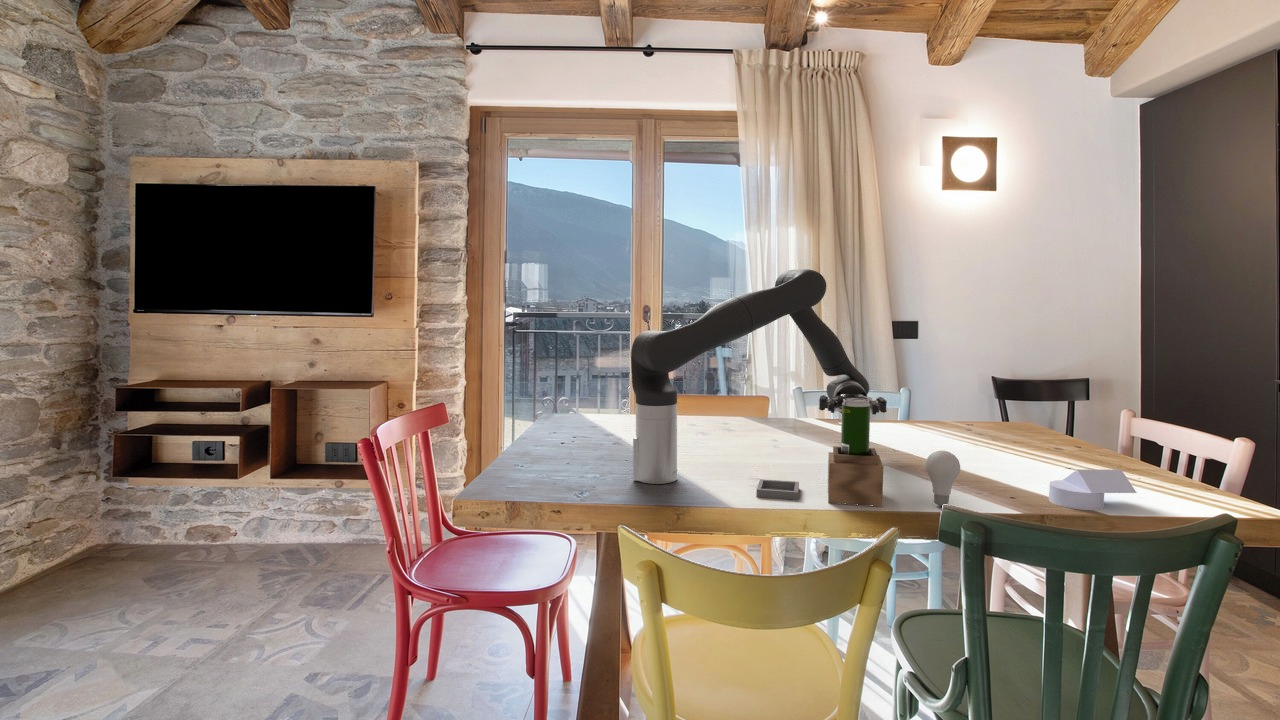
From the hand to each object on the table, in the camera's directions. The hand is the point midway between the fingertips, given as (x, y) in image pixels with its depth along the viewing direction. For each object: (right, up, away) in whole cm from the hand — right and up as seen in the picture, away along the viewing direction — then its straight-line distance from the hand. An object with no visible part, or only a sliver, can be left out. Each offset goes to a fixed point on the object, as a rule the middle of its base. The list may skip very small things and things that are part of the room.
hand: (853, 408), depth 142 cm
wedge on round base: (+42, -18, -12) cm, 47 cm away
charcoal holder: (-17, -17, -4) cm, 25 cm away
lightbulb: (+12, -18, -14) cm, 26 cm away
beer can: (-3, -10, -9) cm, 13 cm away
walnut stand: (-3, -17, -8) cm, 19 cm away
